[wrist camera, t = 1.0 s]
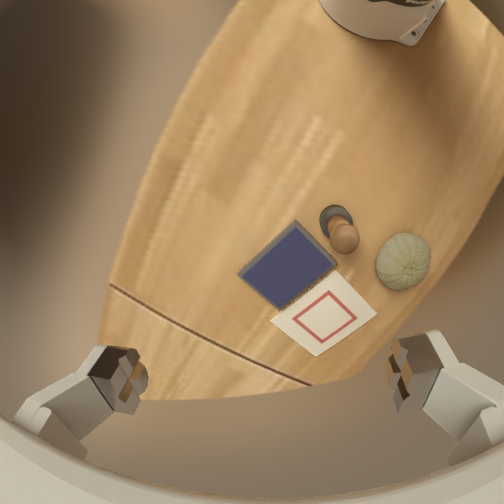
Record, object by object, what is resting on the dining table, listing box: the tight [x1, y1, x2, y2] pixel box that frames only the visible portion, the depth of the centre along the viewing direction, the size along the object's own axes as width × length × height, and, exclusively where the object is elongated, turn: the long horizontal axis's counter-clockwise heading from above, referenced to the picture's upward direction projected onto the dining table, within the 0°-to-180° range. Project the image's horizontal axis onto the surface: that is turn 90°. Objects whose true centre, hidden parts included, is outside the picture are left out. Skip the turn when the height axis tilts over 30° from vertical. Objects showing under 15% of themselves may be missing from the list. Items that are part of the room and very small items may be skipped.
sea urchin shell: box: [375, 232, 431, 291], centre depth 38 cm, size 9×8×8 cm
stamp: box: [319, 205, 360, 254], centre depth 35 cm, size 4×4×9 cm
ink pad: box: [237, 220, 337, 310], centre depth 42 cm, size 12×9×2 cm
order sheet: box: [271, 269, 377, 357], centre depth 45 cm, size 14×12×1 cm
